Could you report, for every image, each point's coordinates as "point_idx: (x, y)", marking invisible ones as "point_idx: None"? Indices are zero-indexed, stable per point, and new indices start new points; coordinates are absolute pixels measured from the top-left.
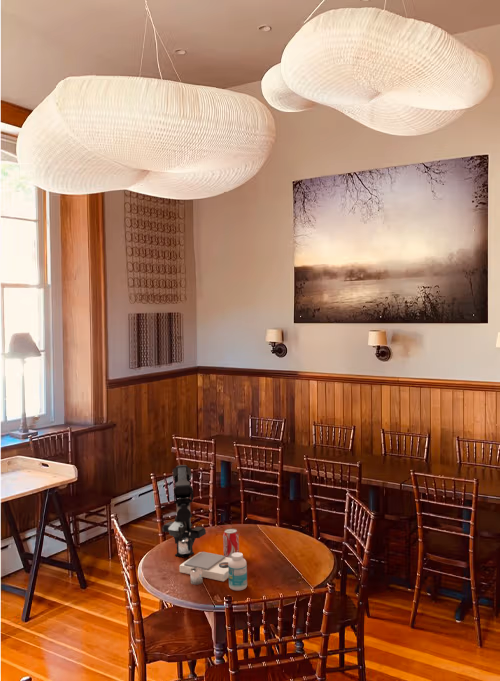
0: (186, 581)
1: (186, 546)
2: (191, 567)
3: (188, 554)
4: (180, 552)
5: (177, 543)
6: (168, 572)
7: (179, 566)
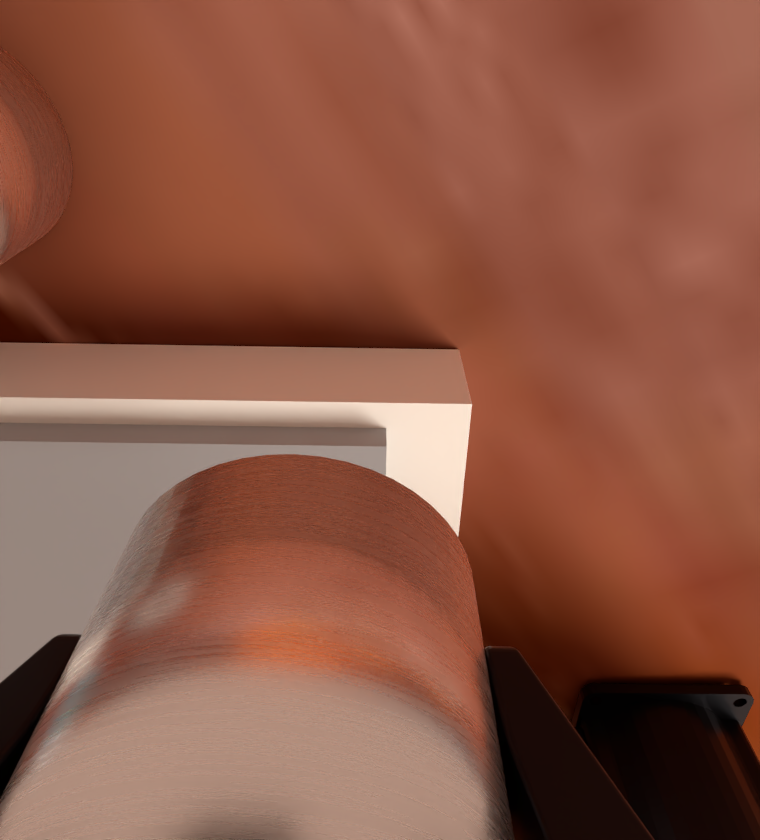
0: (129, 82)
1: (36, 737)
2: (214, 409)
3: (580, 733)
4: (322, 482)
5: (572, 809)
6: (630, 271)
7: (467, 392)
